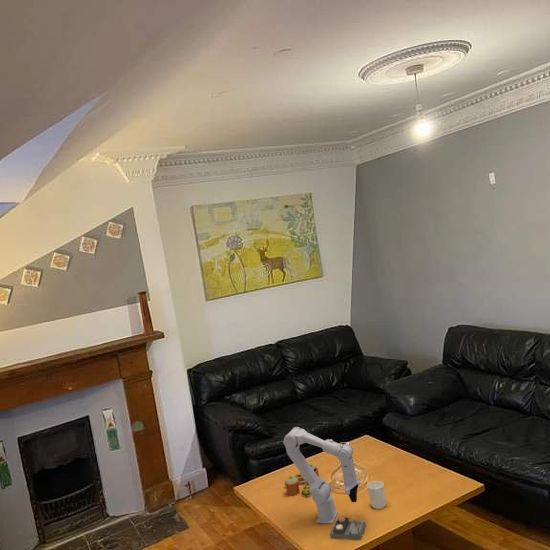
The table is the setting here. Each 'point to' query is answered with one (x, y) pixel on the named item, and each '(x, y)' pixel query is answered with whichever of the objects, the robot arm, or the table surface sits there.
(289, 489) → the potted succulent plants
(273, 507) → the table surface
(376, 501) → the white cup
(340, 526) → the cream button
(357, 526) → the slider knob
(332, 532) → the control panel
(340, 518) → the terracotta button
